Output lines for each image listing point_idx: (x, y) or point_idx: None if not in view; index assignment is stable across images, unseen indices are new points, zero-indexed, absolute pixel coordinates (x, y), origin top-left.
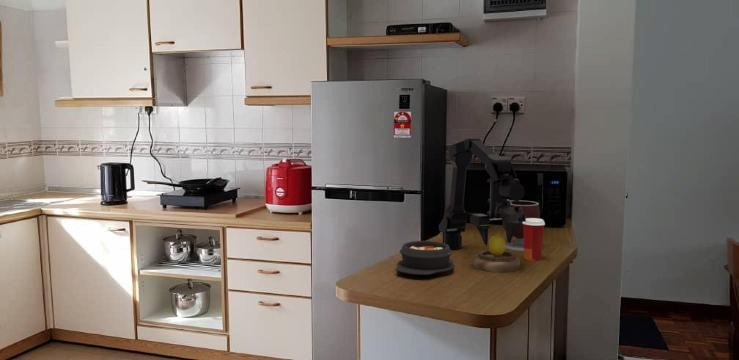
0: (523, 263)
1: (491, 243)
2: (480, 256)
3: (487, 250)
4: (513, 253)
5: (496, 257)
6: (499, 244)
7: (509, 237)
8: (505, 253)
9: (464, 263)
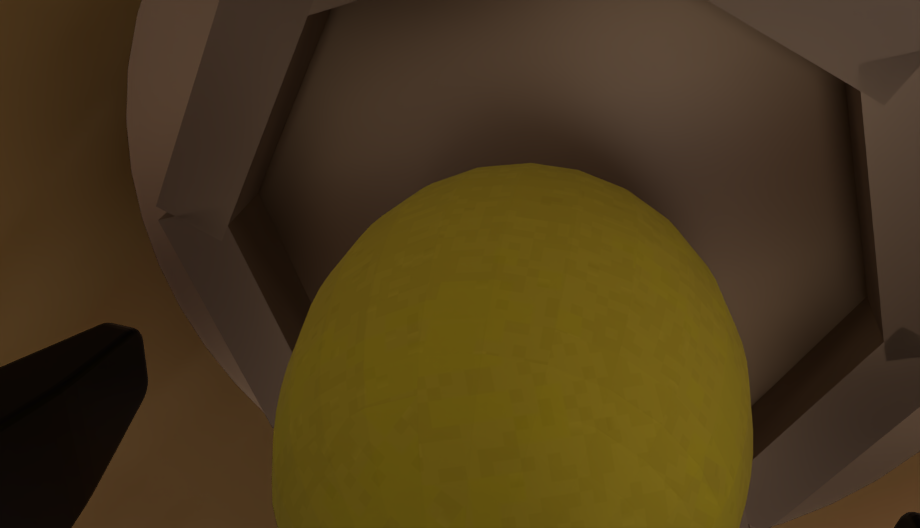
0: (49, 66)
1: (743, 494)
2: (918, 387)
3: None
4: (181, 132)
5: None
6: (631, 299)
7: (43, 428)
8: (272, 277)
9: (813, 519)
